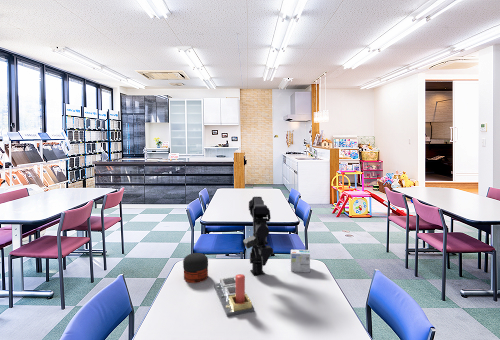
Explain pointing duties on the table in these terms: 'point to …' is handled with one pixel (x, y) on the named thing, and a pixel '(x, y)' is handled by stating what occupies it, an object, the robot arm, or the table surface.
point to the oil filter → (195, 267)
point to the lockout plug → (240, 288)
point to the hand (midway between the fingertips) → (260, 261)
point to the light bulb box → (300, 260)
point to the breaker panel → (232, 297)
